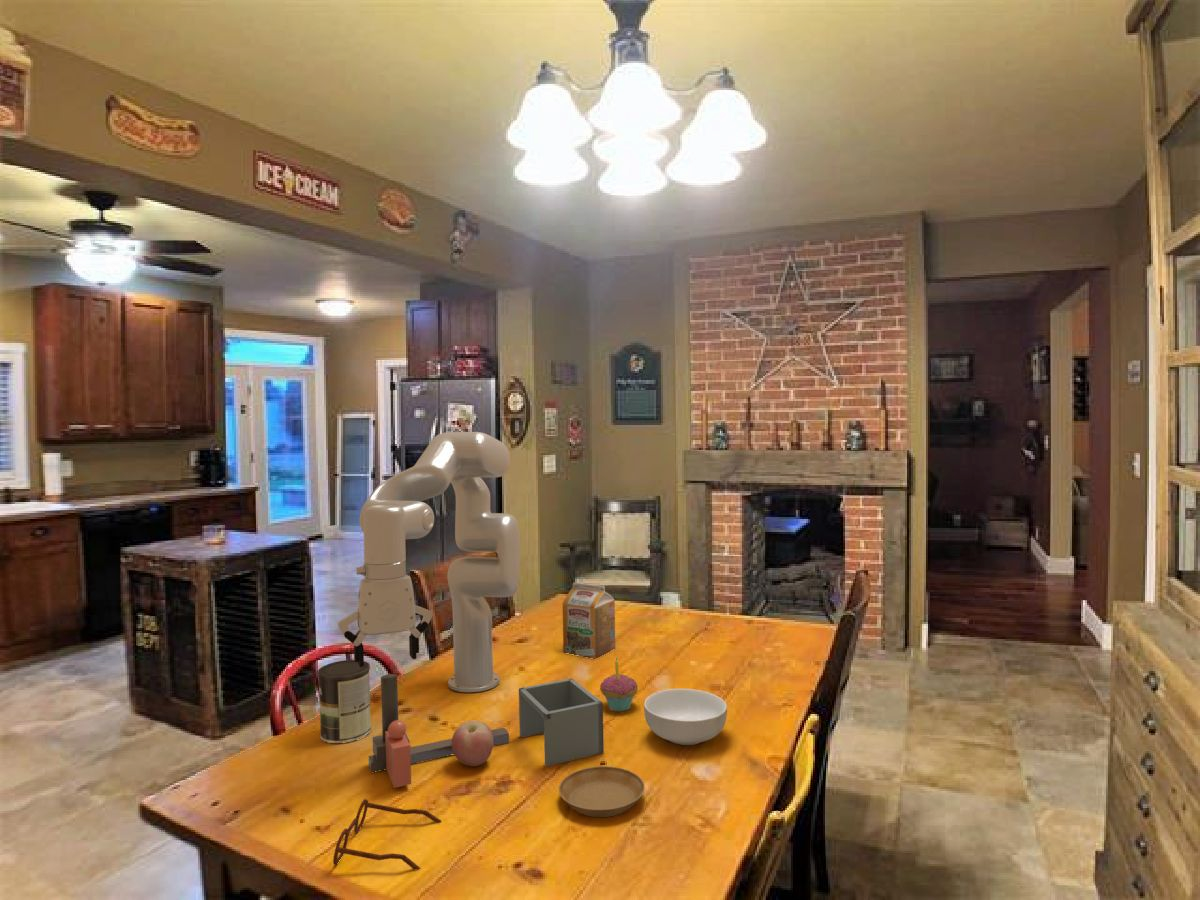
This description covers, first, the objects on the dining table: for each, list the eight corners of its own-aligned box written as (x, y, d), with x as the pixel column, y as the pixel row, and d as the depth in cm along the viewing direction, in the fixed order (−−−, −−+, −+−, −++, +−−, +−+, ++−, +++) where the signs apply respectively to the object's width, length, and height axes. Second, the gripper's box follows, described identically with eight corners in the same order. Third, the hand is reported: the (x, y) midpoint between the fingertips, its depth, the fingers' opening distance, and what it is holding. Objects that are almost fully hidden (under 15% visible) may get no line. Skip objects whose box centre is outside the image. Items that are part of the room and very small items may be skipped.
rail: (368, 766, 138) (368, 756, 138) (504, 737, 150) (504, 727, 150) (371, 773, 136) (370, 762, 136) (509, 742, 148) (508, 733, 147)
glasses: (362, 823, 120) (362, 793, 119) (441, 823, 119) (441, 793, 119) (331, 873, 107) (330, 840, 106) (419, 873, 106) (418, 840, 106)
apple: (444, 769, 137) (443, 728, 136) (466, 752, 144) (465, 712, 143) (480, 777, 134) (479, 734, 133) (501, 758, 141) (500, 718, 140)
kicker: (373, 757, 140) (370, 675, 139) (404, 751, 142) (402, 670, 142) (385, 789, 128) (382, 699, 127) (419, 781, 130) (417, 693, 130)
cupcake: (634, 716, 160) (633, 662, 159) (596, 713, 161) (595, 660, 161) (640, 701, 168) (639, 649, 168) (604, 698, 170) (603, 648, 169)
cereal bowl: (673, 763, 138) (672, 726, 137) (629, 730, 152) (629, 697, 152) (744, 743, 146) (744, 708, 145) (696, 714, 160) (696, 682, 160)
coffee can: (313, 745, 148) (311, 677, 147) (328, 724, 158) (325, 660, 157) (365, 743, 149) (363, 675, 148) (376, 722, 159) (374, 658, 158)
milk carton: (615, 649, 206) (614, 582, 205) (595, 659, 197) (594, 590, 196) (584, 643, 212) (583, 578, 211) (563, 653, 203) (562, 586, 202)
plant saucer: (578, 833, 115) (577, 817, 115) (547, 790, 129) (546, 776, 129) (660, 812, 121) (660, 796, 121) (622, 773, 135) (622, 759, 135)
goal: (519, 735, 151) (518, 688, 150) (572, 724, 156) (571, 678, 155) (546, 766, 137) (545, 714, 137) (603, 752, 142) (602, 702, 142)
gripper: (339, 579, 130) (341, 674, 130) (435, 569, 137) (437, 659, 138) (334, 572, 137) (336, 662, 137) (426, 563, 144) (428, 649, 145)
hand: (387, 661), depth 137 cm, fingers open, 9 cm apart
